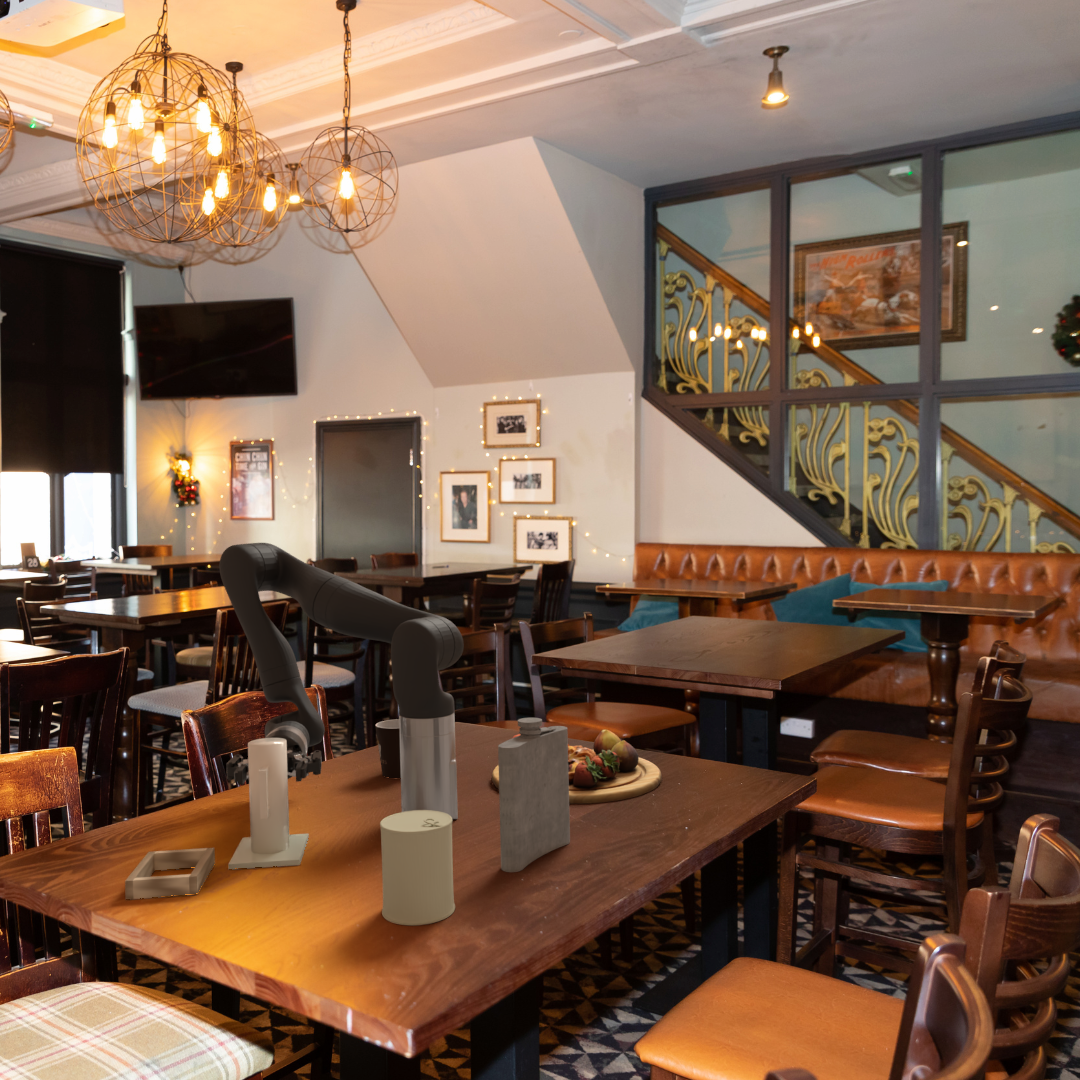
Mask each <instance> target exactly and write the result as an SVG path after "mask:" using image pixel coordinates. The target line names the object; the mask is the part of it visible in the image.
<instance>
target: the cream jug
mask: <svg viewBox="0 0 1080 1080" xmlns="http://www.w3.org/2000/svg"><path fill="white" fill-rule="evenodd" d="M247 756H248V757H247V759H248V765H249V778H248V788H249V789H248V791H249V792H248V795H249V821H250V822H249V824H250V830H249V832H250V837H251V851H252V852H254V853H257V854H272V853H277V852H281V851H284V850H286V849H288V848H289V846H290V841H289V835H290V815H289V813H290V812H289V811H290V810H289V809H290V808H289V781H288V780H289V779H288V773H287V740H286V739H283V738H265V737H263V738H257V739H253V740H251V741H248V742H247Z"/></svg>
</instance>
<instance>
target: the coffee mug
mask: <svg viewBox="0 0 1080 1080" xmlns="http://www.w3.org/2000/svg"><path fill="white" fill-rule="evenodd" d="M375 731H376V732H375V733H376V738H377V739H376V740H377V747H378V752H379V753H378V754H379V760H380V767H381V774H382V777H383V776H385V777H389V778H401V767H400V727H399V718H398V719H397V718H396V719H387V720H384V721H383V720H382V721H379V722H377V723H376V724H375ZM385 777H384V778H385ZM389 778H388V779H389Z"/></svg>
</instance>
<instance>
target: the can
mask: <svg viewBox="0 0 1080 1080" xmlns="http://www.w3.org/2000/svg"><path fill="white" fill-rule="evenodd" d="M379 827H380V840H381V845H380V846H381V869H382V870H381V872H382V875H381V876H382V909H381V914H382V915H381V916H382V917H383V918H384V919H385V920H386V921H387V922H389V923H393V924H395V925H396V924H397V925H402V926H423V925H429V924H430V925H431V924H434V923H438V922H441V921H443V920H445V919H447V918H449V917H450V916H451V915H452V914H454V913H455V910H456V904H455V897H454V896H455V895H454V872H453V871H454V870H453V867H454V866H453V863H454V862H453V819H452V817H451V816H450V815H448V814H446V813H444V812H439V811H432V810H414V811H405V812H402V811H401V812H398V813H397V812H396V813H393V814H391V815H388V816H386V817H384V818H383V819H381V821H380V822H379Z"/></svg>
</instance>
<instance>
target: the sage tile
mask: <svg viewBox="0 0 1080 1080" xmlns="http://www.w3.org/2000/svg"><path fill="white" fill-rule="evenodd" d="M309 835H310V834H309V833H295V834H289V841H290V846H289V848H288V849H286V850H284V851H281V852H277V853H272V854H257V853H254V852H252V851H251V836H248V837H246V836H245V837H242V839H241V840H240V842H239V844H238V845H237V847H236V849H235V851H234V853H233V855H232V857H231V858H230V860H229V862H228V863H227V864H228V870H229V869H232V870H239V869H238V868H247V869H256V868H255V867H262V868H273V866H275V868H276V866H277V867H290V866H300V865H301V862H302V859H303V857H304V855H305V851H304V850H306V848H305V847H307V845H308V842H309V839H308V838H310V837H309ZM307 841H308V842H307ZM306 844H307V845H306ZM235 868H237V869H235Z"/></svg>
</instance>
